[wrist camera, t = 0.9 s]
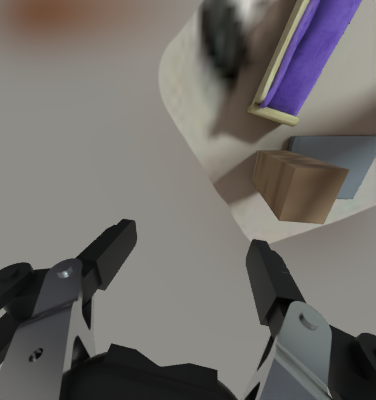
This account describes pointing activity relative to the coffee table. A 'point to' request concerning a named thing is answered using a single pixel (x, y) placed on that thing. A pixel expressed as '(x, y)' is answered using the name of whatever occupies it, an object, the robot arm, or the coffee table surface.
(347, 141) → the mat
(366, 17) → the coffee table surface
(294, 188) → the walnut block
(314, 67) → the toy sofa
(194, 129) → the coffee table surface
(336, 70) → the coffee table surface
